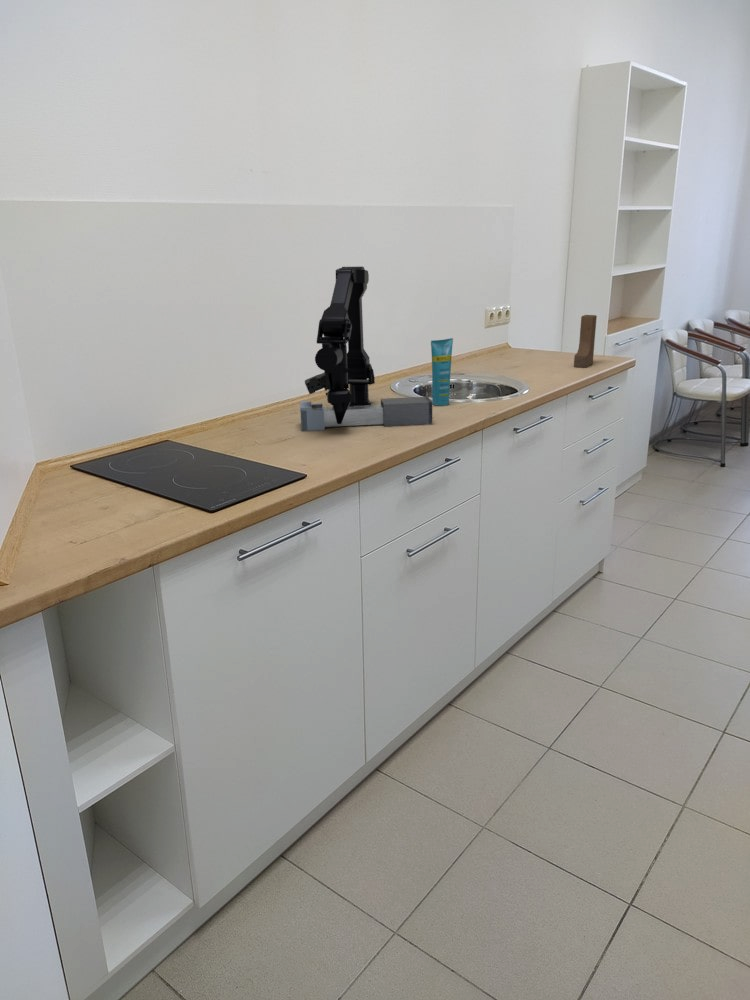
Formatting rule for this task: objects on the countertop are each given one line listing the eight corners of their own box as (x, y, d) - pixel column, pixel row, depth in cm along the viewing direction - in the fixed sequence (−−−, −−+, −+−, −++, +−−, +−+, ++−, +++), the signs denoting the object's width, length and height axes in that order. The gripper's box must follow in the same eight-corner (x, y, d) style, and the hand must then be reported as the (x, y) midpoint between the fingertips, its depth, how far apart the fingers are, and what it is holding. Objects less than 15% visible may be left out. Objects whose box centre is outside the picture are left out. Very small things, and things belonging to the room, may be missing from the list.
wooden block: (585, 368, 268) (589, 317, 262) (573, 367, 271) (576, 317, 264) (593, 364, 275) (597, 315, 269) (581, 363, 278) (584, 314, 271)
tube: (436, 407, 215) (436, 341, 209) (426, 404, 219) (426, 339, 212) (455, 403, 219) (457, 338, 212) (445, 401, 223) (446, 336, 216)
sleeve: (381, 420, 203) (380, 398, 200) (427, 417, 204) (427, 396, 202) (384, 426, 196) (383, 404, 194) (432, 424, 197) (432, 402, 195)
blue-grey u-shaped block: (301, 423, 201) (299, 401, 199) (323, 422, 201) (322, 400, 199) (301, 431, 193) (300, 407, 191) (324, 429, 194) (323, 406, 192)
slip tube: (312, 423, 199) (311, 407, 198) (392, 420, 201) (392, 403, 200) (312, 427, 195) (311, 411, 194) (394, 423, 198) (394, 407, 196)
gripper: (304, 359, 200) (307, 415, 206) (306, 371, 183) (309, 432, 188) (345, 357, 201) (347, 413, 207) (351, 369, 184) (353, 430, 189)
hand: (338, 421), depth 198 cm, fingers closed on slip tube, 4 cm apart
